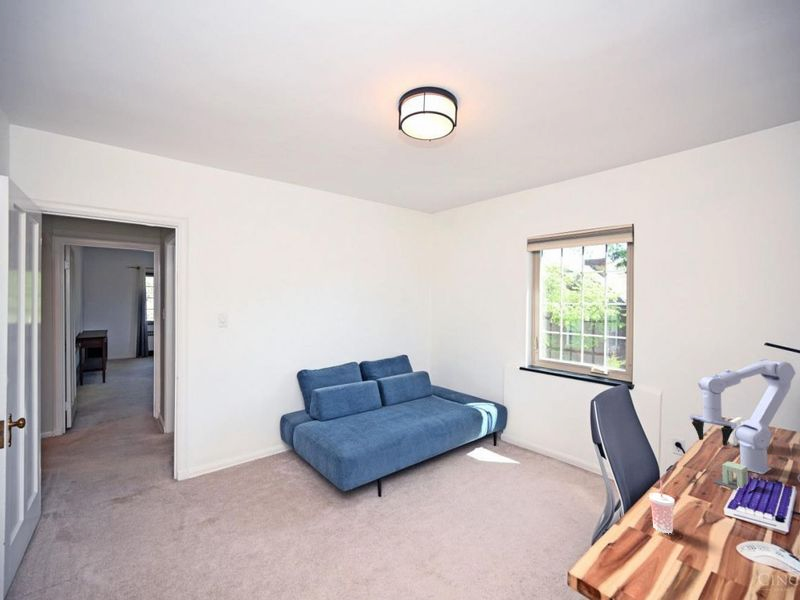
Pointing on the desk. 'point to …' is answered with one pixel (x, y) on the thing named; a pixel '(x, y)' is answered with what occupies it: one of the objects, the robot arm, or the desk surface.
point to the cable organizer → (732, 438)
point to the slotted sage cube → (739, 469)
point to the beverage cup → (662, 511)
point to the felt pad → (731, 484)
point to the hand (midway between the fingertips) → (712, 442)
